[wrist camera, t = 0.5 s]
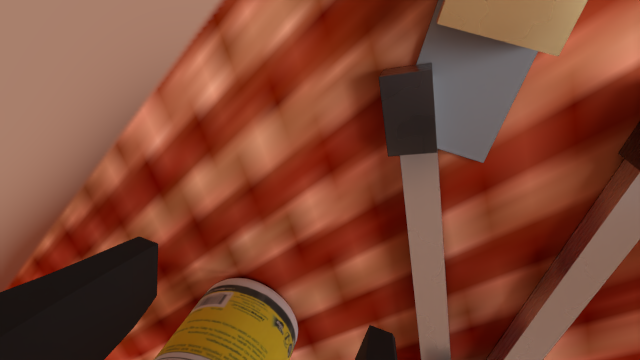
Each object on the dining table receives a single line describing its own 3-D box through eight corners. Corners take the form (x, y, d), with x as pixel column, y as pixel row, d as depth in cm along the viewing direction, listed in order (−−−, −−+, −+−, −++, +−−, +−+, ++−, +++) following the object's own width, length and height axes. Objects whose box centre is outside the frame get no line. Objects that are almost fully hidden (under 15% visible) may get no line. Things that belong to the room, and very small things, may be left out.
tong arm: (463, 57, 14) (470, 70, 11) (474, 389, 20) (480, 445, 18) (383, 69, 15) (373, 84, 12) (419, 383, 21) (417, 435, 19)
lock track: (599, -80, 11) (603, -81, 11) (482, 159, 15) (483, 163, 15) (474, -107, 12) (475, -109, 12) (392, 132, 16) (392, 134, 16)
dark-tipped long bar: (736, 91, 12) (799, 109, 10) (492, 406, 21) (498, 452, 19) (628, 62, 13) (666, 74, 11) (432, 383, 21) (432, 424, 19)
